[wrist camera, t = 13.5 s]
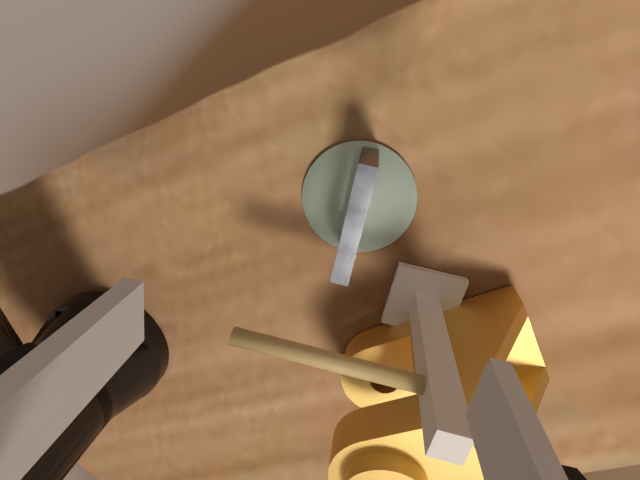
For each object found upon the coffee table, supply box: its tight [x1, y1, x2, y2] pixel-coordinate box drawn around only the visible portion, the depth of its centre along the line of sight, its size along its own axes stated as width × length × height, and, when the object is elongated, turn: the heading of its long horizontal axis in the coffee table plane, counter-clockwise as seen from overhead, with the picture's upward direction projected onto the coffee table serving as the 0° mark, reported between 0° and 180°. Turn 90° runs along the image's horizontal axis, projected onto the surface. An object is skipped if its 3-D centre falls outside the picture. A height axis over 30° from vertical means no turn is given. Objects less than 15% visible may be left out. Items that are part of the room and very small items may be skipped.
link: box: [330, 146, 379, 286], centre depth 33 cm, size 2×10×8 cm, turn 169°
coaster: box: [302, 140, 417, 252], centre depth 37 cm, size 11×11×1 cm
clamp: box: [328, 285, 550, 480], centre depth 35 cm, size 20×9×16 cm, turn 116°
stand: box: [229, 262, 474, 466], centre depth 33 cm, size 20×7×18 cm, turn 79°
